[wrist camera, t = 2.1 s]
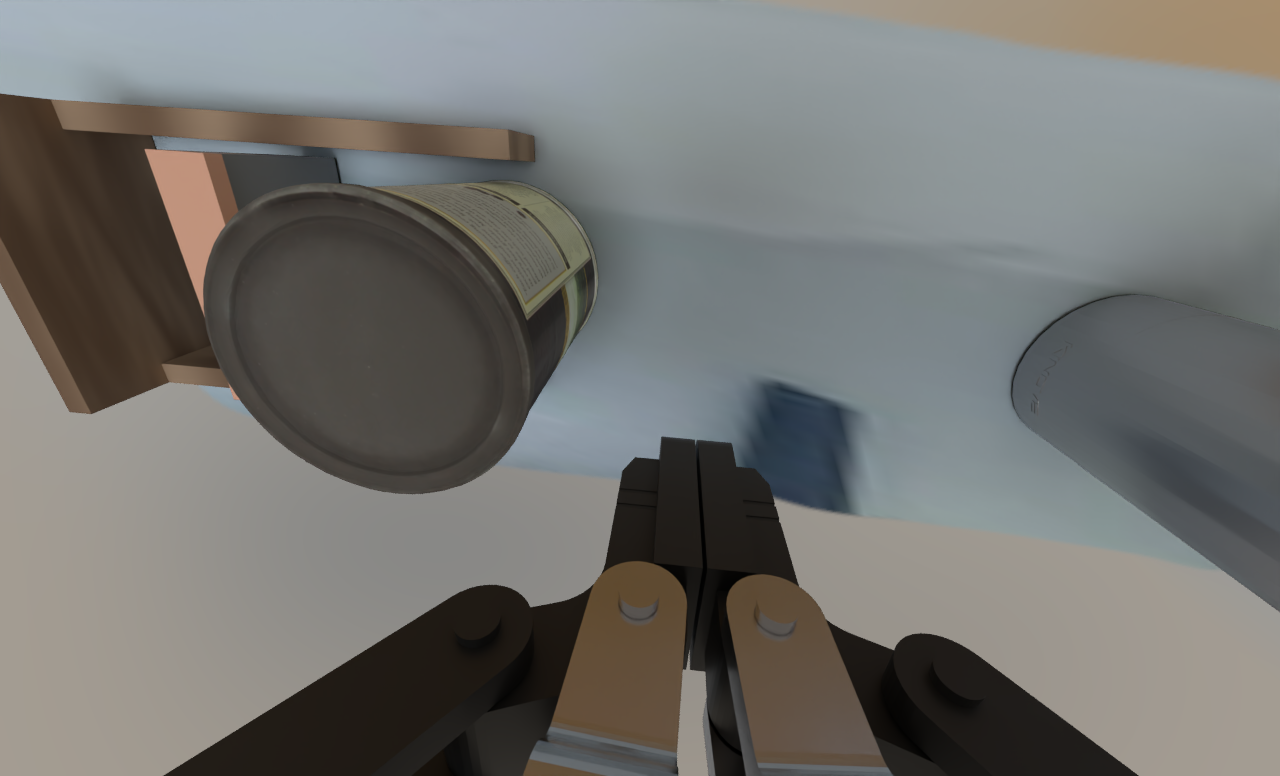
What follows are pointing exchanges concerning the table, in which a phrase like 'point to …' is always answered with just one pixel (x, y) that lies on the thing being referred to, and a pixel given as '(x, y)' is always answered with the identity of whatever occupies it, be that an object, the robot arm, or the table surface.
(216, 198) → the pusher paddle
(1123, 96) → the table surface
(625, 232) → the table surface
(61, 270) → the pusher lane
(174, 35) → the table surface
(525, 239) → the coffee can
